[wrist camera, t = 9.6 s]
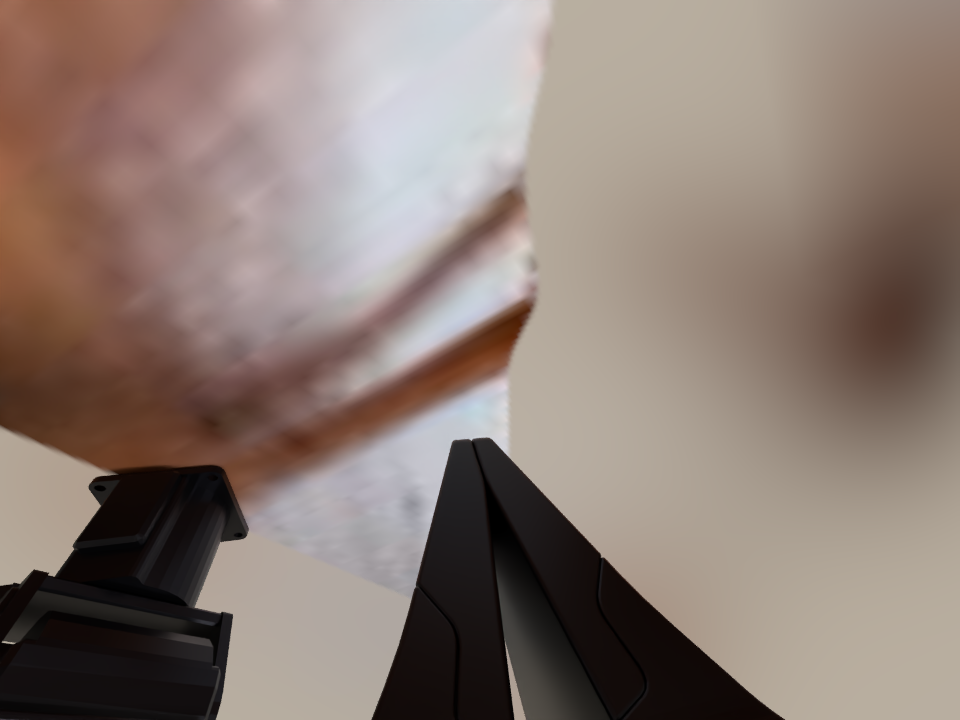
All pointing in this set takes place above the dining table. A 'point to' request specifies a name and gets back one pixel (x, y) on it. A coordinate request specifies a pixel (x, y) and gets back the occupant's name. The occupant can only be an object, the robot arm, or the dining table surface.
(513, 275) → the dining table surface
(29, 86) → the dining table surface
